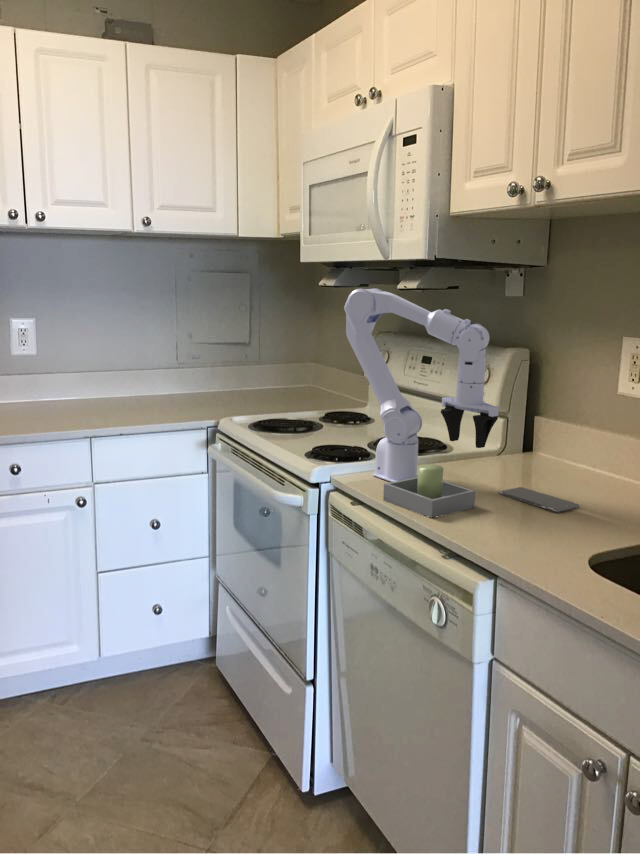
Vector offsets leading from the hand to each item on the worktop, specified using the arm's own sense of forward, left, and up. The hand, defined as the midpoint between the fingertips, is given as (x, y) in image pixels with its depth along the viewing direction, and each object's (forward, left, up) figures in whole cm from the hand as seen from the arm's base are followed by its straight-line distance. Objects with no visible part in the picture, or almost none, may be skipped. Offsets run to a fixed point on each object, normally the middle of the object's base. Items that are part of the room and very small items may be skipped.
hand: (466, 443), depth 159 cm
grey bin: (+4, -15, -10) cm, 18 cm away
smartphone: (+15, +6, -10) cm, 19 cm away
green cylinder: (+4, -15, -9) cm, 18 cm away
